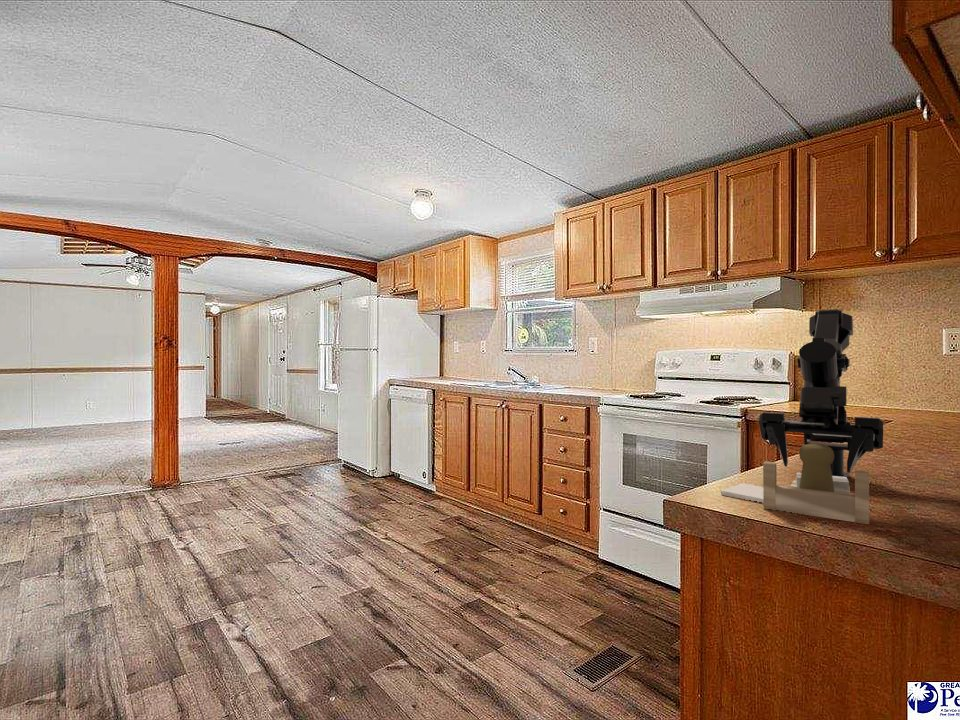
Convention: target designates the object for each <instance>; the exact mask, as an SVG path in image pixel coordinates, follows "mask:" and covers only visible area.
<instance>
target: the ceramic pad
mask: <svg viewBox="0 0 960 720" xmlns="http://www.w3.org/2000/svg"><path fill="white" fill-rule="evenodd" d="M720 495H721V496H725V497H731V498H736V499H739V498H740V500H744V499H745V501H749V500H751V501H750V502H754V501H757V502H756V503H759V502H762V503H761V504H763V486H760V485H755V484H754V485H753V484H748V483H738V484H735V485H732V486H730V487H727V488H723V489H722V490H720Z"/></svg>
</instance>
